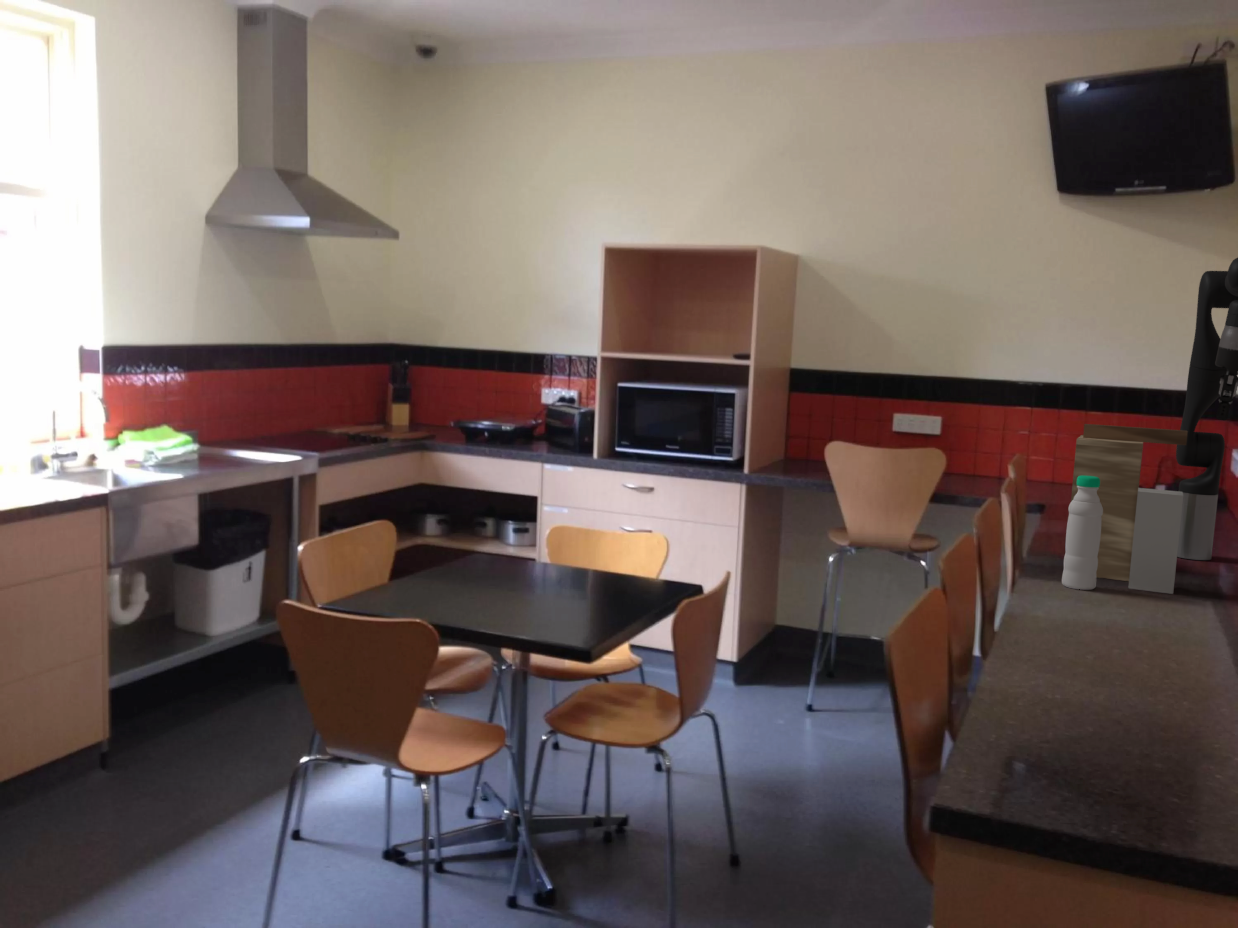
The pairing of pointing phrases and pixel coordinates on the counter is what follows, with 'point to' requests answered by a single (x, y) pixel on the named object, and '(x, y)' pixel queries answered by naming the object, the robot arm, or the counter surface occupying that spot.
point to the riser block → (1155, 540)
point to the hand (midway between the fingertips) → (1221, 417)
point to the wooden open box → (1112, 498)
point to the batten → (1135, 434)
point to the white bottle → (1083, 536)
